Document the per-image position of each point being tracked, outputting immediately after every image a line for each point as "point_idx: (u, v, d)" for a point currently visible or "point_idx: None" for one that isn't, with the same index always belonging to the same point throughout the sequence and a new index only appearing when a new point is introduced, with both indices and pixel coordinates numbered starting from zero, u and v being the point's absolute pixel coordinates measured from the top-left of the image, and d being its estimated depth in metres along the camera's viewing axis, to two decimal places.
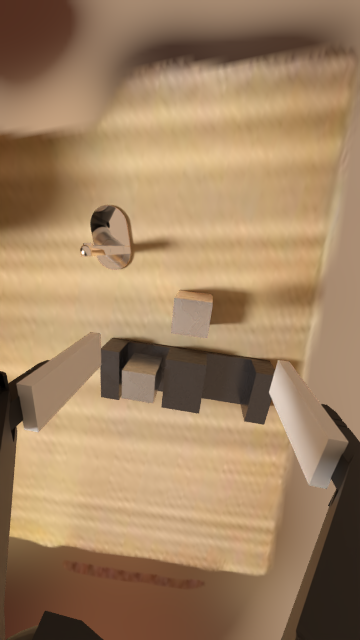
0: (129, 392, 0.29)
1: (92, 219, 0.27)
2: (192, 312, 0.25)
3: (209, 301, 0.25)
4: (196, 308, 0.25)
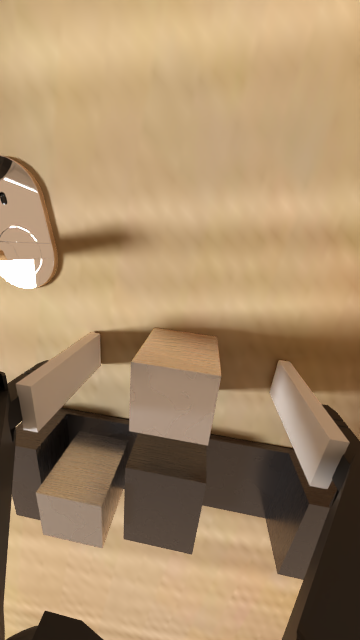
0: (56, 527, 0.15)
1: None
2: (174, 393, 0.11)
3: (212, 370, 0.11)
4: (182, 385, 0.11)
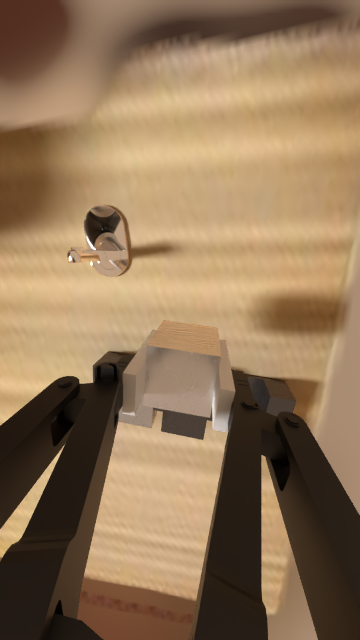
0: (124, 415, 0.26)
1: (86, 221, 0.25)
2: (182, 372, 0.13)
3: (214, 352, 0.13)
4: (189, 365, 0.13)
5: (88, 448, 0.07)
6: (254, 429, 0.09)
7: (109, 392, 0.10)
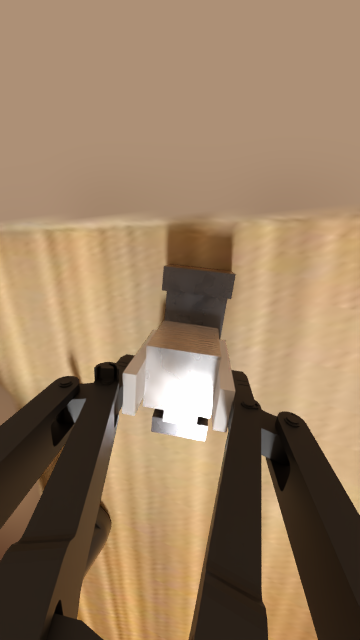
0: (188, 419, 0.28)
1: None
2: (182, 372, 0.13)
3: (214, 353, 0.13)
4: (189, 365, 0.13)
5: (88, 448, 0.07)
6: (254, 429, 0.09)
7: (109, 392, 0.10)
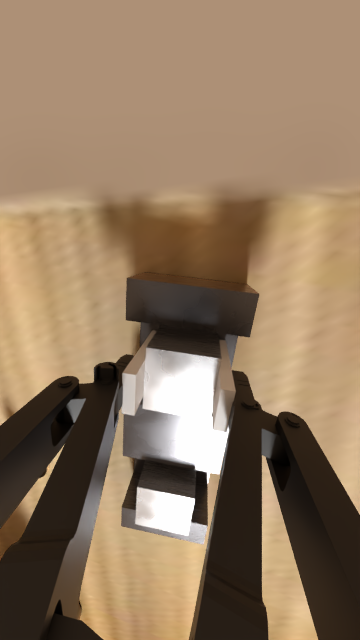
0: (175, 524, 0.17)
1: None
2: (182, 374, 0.13)
3: (214, 354, 0.13)
4: (189, 367, 0.13)
5: (87, 448, 0.07)
6: (254, 429, 0.09)
7: (109, 392, 0.10)
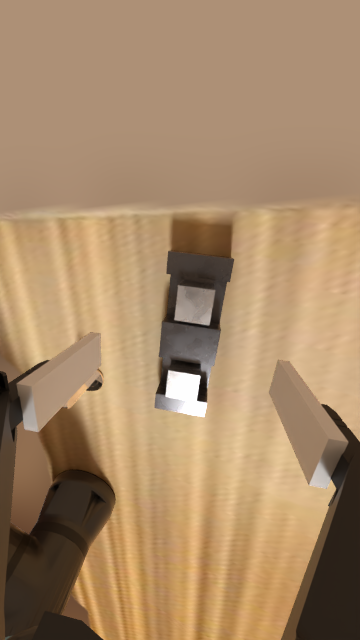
0: (188, 394, 0.30)
1: None
2: (195, 299, 0.26)
3: (212, 289, 0.26)
4: (199, 295, 0.26)
5: None
6: None
7: None
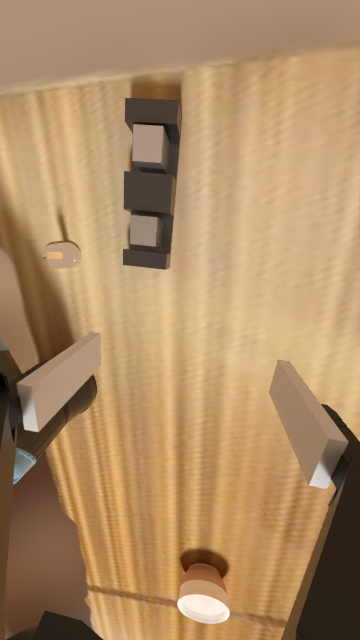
0: (149, 239, 0.35)
1: (53, 266, 0.45)
2: (148, 137, 0.31)
3: None
4: (151, 132, 0.31)
5: None
6: None
7: None
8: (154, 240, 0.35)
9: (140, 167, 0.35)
